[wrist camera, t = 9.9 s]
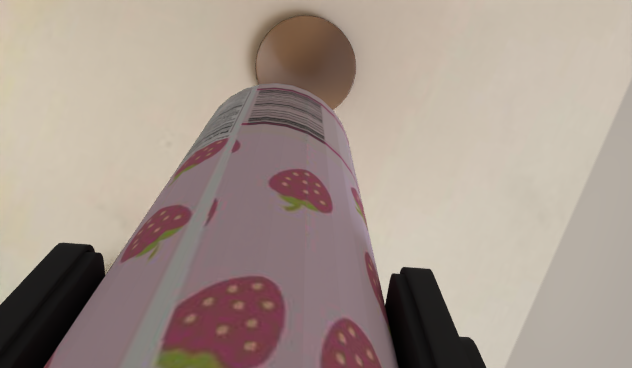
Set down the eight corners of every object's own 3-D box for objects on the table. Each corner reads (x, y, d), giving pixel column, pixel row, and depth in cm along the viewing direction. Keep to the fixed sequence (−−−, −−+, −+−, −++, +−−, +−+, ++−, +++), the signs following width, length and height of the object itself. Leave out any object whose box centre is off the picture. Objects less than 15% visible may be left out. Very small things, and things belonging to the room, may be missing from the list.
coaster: (237, 79, 33) (236, 81, 33) (292, -7, 31) (291, -7, 31) (317, 133, 35) (317, 135, 35) (375, 55, 33) (376, 56, 32)
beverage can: (245, 235, 20) (106, 800, 6) (177, 117, 18) (-259, 587, 4) (369, 186, 19) (520, 719, 5) (314, 56, 17) (333, 396, 3)
